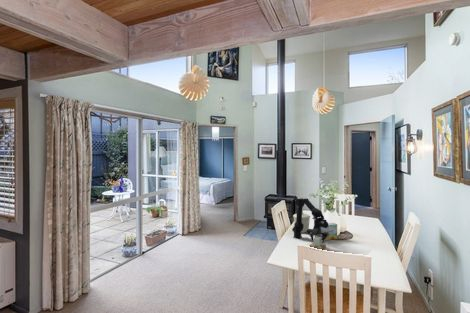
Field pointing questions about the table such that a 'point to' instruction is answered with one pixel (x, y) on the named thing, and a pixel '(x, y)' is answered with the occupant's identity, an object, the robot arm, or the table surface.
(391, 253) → the table surface
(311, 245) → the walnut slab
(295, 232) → the robot arm
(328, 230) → the snack box
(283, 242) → the table surface
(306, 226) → the canister
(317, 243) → the sage box
